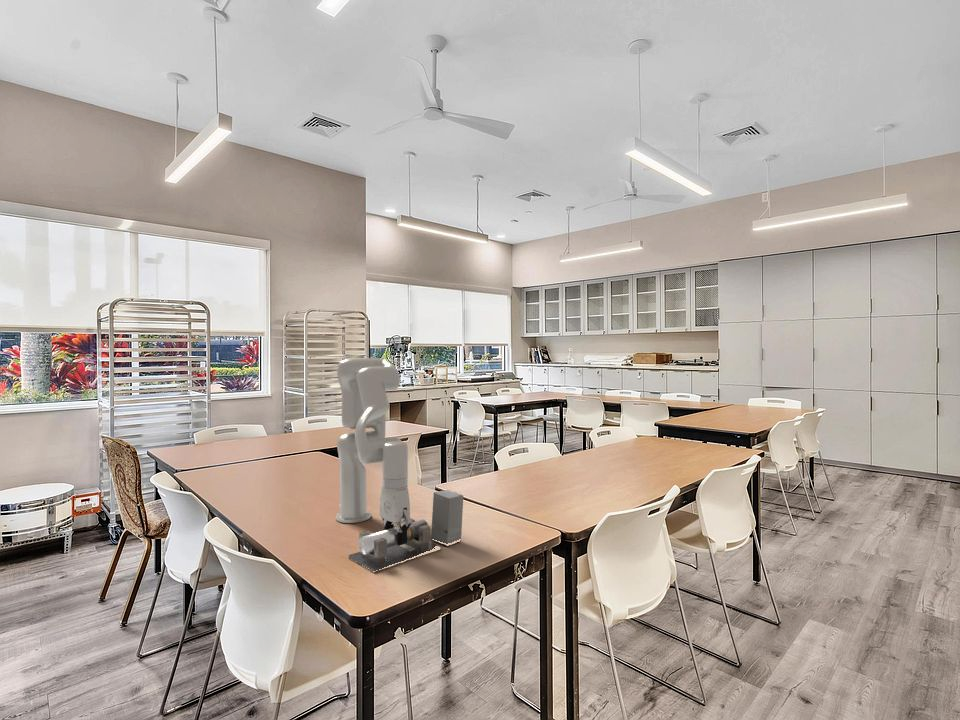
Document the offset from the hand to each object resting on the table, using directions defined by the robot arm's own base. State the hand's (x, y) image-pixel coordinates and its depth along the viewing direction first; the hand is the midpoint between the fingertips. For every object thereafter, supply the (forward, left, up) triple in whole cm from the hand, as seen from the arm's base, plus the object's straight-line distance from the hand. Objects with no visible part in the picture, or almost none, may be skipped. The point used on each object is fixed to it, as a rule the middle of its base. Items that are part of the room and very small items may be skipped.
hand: (395, 540), depth 155 cm
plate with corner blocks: (0, 0, -4) cm, 4 cm away
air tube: (0, 0, +1) cm, 1 cm away
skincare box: (+3, +18, -4) cm, 19 cm away
